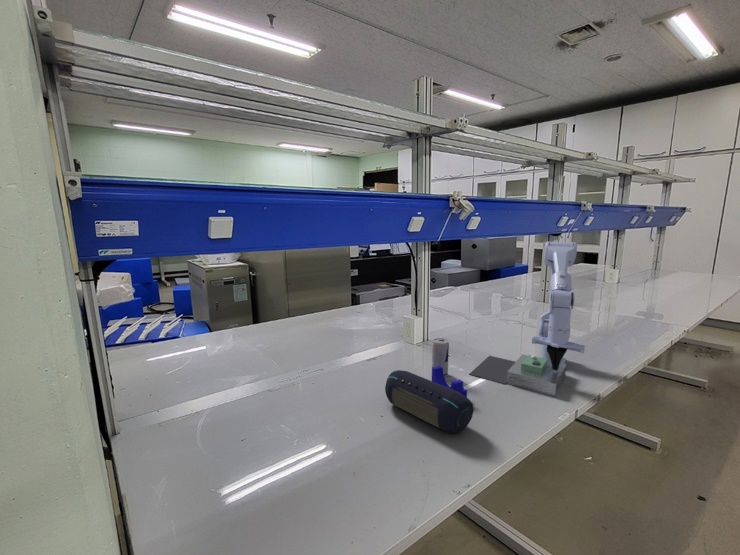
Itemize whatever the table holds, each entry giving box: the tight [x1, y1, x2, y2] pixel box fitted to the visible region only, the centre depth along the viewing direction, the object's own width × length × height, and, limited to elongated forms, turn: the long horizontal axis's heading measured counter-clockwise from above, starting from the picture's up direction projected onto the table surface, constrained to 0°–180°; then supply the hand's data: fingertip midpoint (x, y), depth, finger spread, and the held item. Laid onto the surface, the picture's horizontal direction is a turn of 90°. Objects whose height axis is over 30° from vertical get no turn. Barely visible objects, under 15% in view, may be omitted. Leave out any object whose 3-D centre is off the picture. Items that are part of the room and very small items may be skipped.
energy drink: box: [431, 338, 450, 378], centre depth 118 cm, size 5×5×12 cm
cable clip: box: [431, 366, 468, 398], centre depth 107 cm, size 12×4×6 cm, turn 22°
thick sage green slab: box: [521, 354, 548, 374], centre depth 115 cm, size 9×6×3 cm, turn 142°
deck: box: [506, 354, 567, 397], centre depth 115 cm, size 18×14×4 cm
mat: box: [468, 355, 516, 385], centre depth 123 cm, size 20×12×1 cm, turn 142°
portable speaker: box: [384, 370, 474, 434], centre depth 93 cm, size 25×10×10 cm, turn 44°
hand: (555, 369), depth 111 cm, fingers closed
